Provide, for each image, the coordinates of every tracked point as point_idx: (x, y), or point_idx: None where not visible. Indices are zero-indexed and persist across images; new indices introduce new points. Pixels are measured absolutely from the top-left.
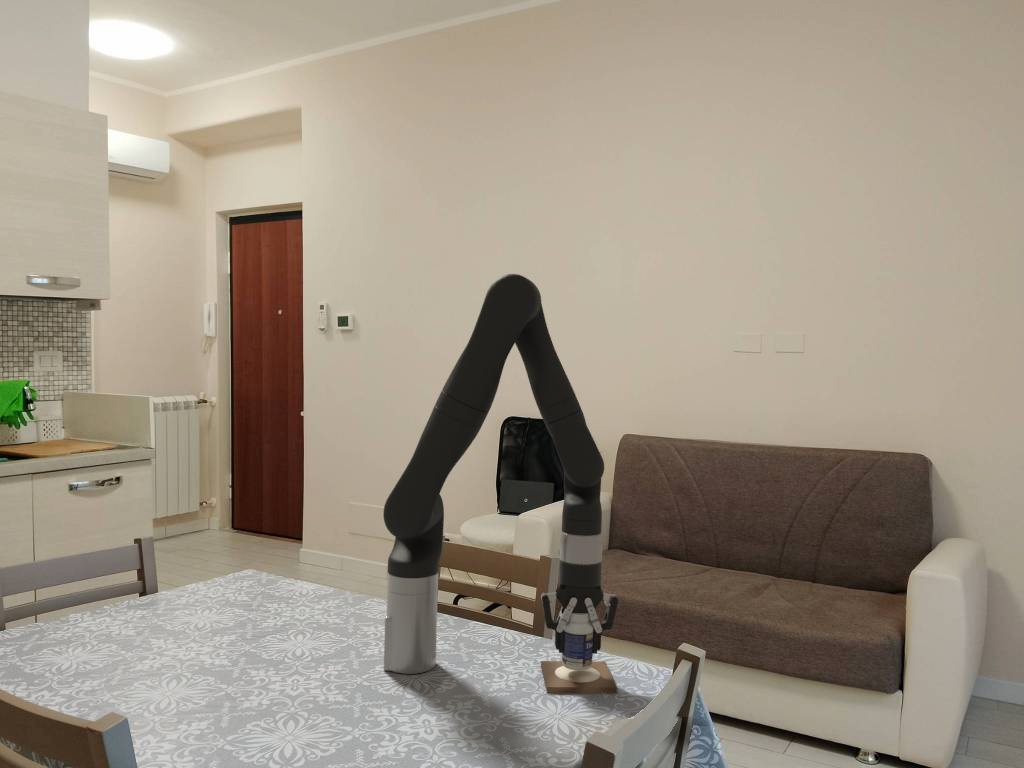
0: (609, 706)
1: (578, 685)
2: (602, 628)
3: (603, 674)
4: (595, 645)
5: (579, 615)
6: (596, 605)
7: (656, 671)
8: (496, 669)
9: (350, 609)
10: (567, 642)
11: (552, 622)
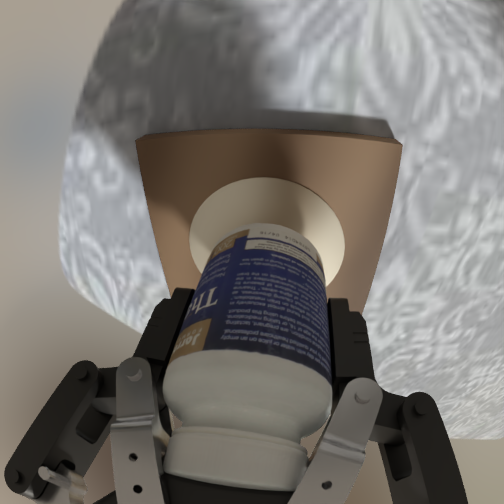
0: (177, 27)
1: (277, 150)
2: (118, 377)
3: (178, 242)
4: (173, 311)
5: (231, 477)
6: (108, 499)
7: (74, 276)
8: (460, 301)
9: (492, 419)
10: (318, 326)
11: (409, 426)
